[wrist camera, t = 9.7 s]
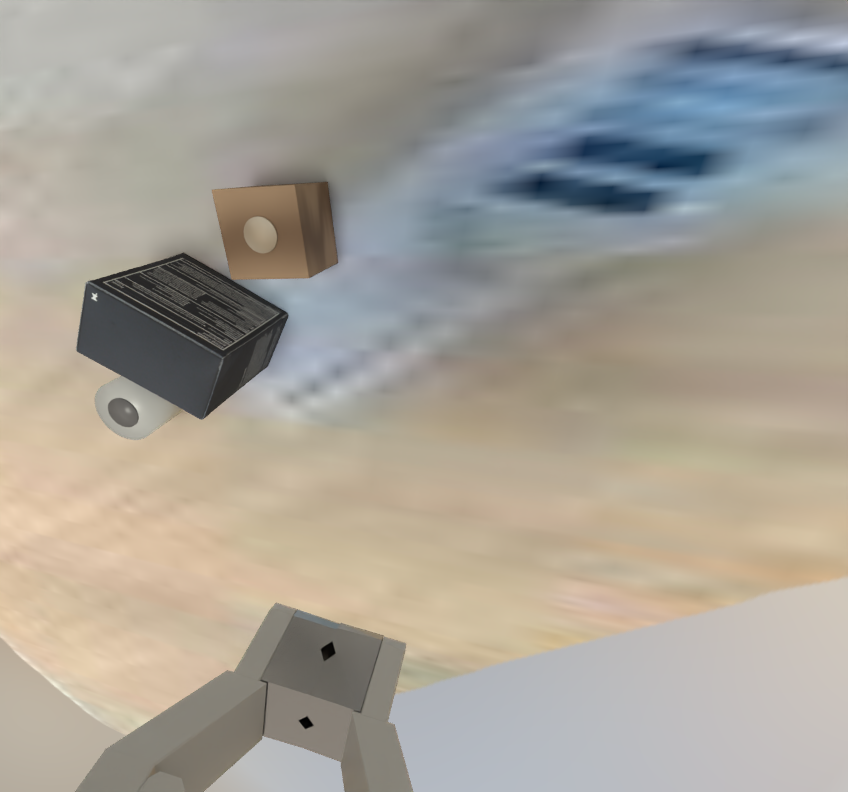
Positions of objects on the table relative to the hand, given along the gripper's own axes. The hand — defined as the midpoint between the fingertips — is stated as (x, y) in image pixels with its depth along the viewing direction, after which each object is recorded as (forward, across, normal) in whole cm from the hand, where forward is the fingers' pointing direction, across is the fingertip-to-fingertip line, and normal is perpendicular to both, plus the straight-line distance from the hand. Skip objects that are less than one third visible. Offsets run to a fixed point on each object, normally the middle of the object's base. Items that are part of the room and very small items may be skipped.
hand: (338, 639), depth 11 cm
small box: (+31, +21, +7) cm, 38 cm away
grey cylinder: (+31, +27, +16) cm, 44 cm away
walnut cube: (+31, +15, -2) cm, 35 cm away
